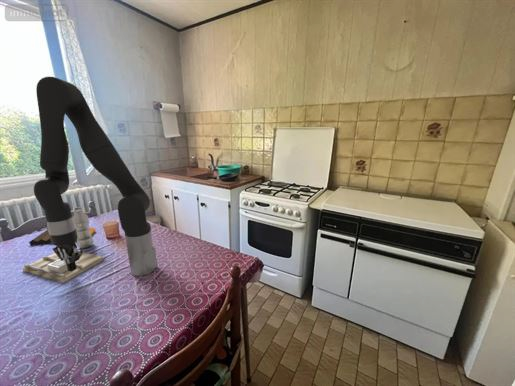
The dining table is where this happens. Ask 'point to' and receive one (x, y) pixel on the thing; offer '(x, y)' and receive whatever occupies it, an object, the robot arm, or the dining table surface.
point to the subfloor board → (81, 264)
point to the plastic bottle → (82, 228)
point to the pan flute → (48, 237)
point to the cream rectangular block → (58, 266)
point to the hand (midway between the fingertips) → (72, 270)
